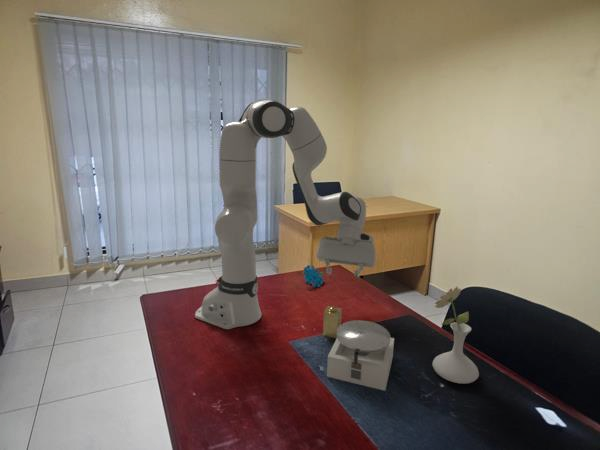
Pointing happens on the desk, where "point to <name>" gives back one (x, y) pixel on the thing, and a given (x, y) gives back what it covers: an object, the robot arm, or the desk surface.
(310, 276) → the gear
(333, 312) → the brass weight
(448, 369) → the flower in vase
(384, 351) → the base
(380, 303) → the desk surface
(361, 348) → the scale pan
